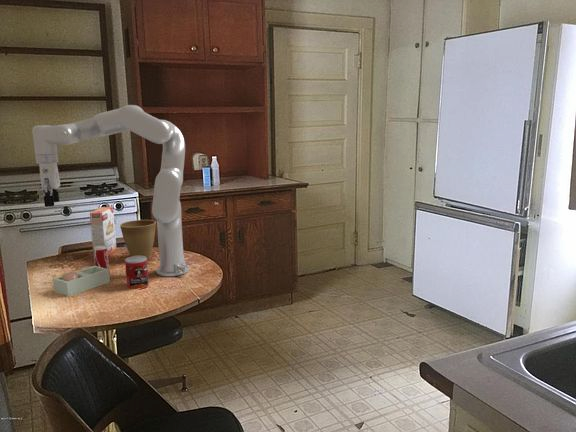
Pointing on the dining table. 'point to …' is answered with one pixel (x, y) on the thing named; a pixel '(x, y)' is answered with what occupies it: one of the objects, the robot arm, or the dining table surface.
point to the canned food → (136, 272)
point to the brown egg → (70, 276)
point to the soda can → (101, 257)
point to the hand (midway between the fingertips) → (52, 203)
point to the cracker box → (103, 228)
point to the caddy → (82, 281)
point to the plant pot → (139, 236)
